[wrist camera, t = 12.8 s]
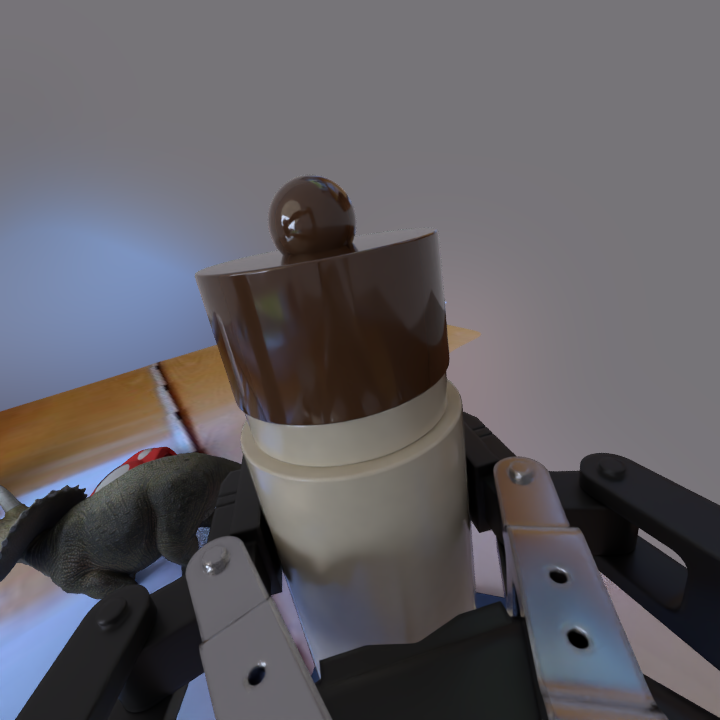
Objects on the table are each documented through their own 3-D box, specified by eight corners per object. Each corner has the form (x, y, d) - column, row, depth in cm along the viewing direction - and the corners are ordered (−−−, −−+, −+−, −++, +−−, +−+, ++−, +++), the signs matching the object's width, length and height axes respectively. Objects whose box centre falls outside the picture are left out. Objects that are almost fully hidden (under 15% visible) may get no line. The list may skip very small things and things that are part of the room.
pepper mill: (295, 729, 11) (79, 204, 6) (353, 573, 16) (262, 197, 11) (478, 799, 9) (410, 114, 4) (484, 599, 14) (456, 155, 9)
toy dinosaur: (299, 488, 36) (270, 385, 32) (327, 552, 29) (294, 429, 24) (32, 599, 29) (-50, 486, 25) (-23, 722, 22) (-153, 591, 17)
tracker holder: (53, 518, 36) (129, 438, 43) (89, 542, 38) (155, 462, 45) (120, 518, 30) (194, 427, 38) (158, 547, 32) (221, 455, 40)
